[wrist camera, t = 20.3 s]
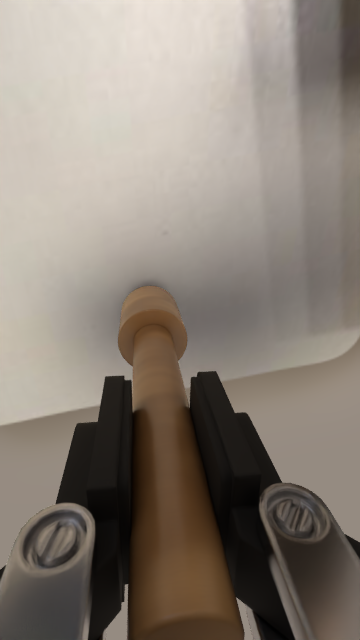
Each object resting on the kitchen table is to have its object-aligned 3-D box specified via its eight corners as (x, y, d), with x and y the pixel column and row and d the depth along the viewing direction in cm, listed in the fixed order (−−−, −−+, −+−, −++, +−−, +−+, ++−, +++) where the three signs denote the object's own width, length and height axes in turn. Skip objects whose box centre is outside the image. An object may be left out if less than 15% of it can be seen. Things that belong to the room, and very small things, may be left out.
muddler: (178, 285, 18) (306, 571, 4) (176, 337, 20) (276, 692, 6) (120, 285, 18) (65, 601, 4) (122, 338, 19) (86, 724, 5)
